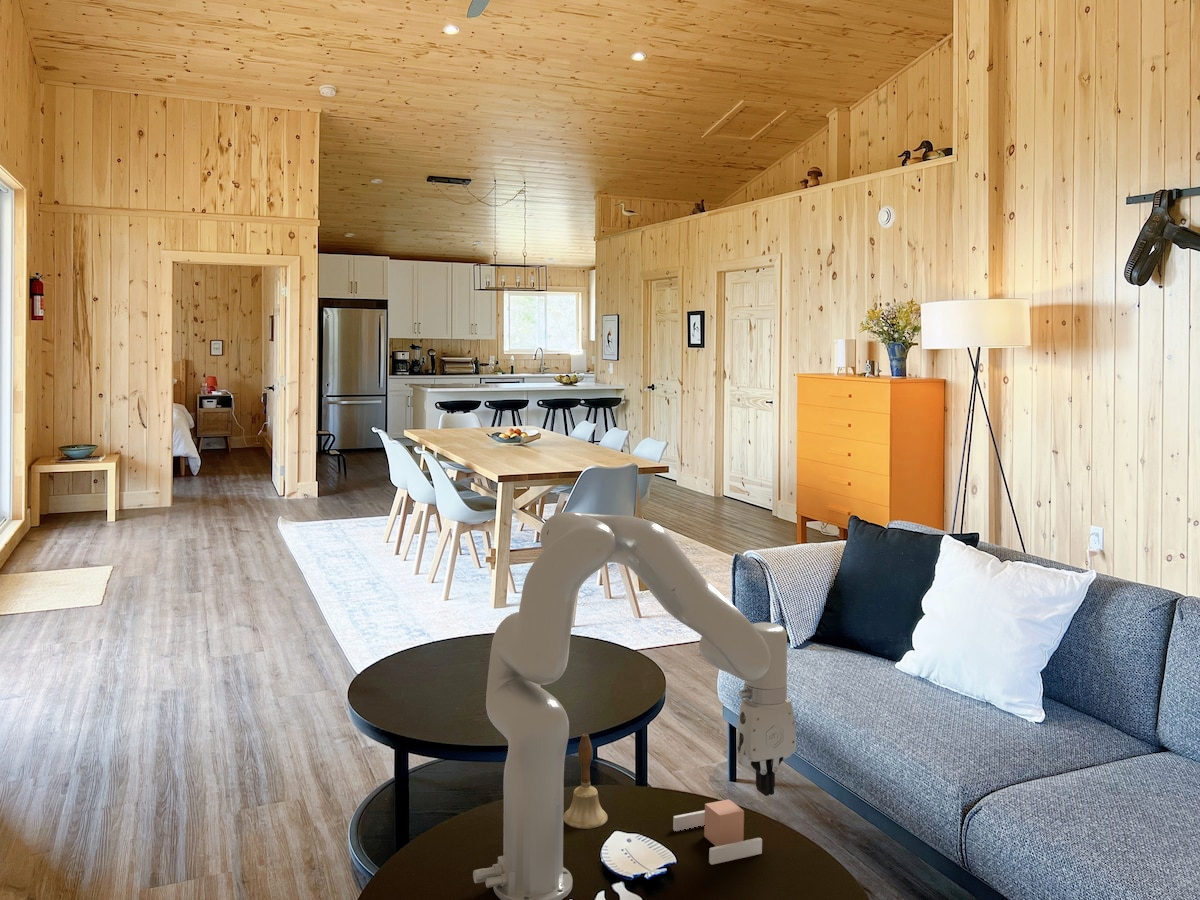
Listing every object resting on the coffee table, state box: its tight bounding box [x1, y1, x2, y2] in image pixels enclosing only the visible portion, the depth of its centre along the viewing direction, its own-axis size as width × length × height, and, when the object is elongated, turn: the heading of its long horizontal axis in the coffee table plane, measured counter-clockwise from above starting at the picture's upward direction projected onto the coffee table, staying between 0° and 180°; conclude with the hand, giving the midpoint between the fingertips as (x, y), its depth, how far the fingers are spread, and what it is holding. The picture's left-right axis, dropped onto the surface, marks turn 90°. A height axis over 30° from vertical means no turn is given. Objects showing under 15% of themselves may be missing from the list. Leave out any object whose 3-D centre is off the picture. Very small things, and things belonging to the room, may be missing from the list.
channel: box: [672, 809, 763, 866], centre depth 162 cm, size 10×14×2 cm
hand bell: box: [563, 733, 609, 830], centre depth 170 cm, size 8×8×16 cm
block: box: [703, 798, 745, 847], centre depth 163 cm, size 5×5×6 cm
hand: (765, 792), depth 166 cm, fingers closed
